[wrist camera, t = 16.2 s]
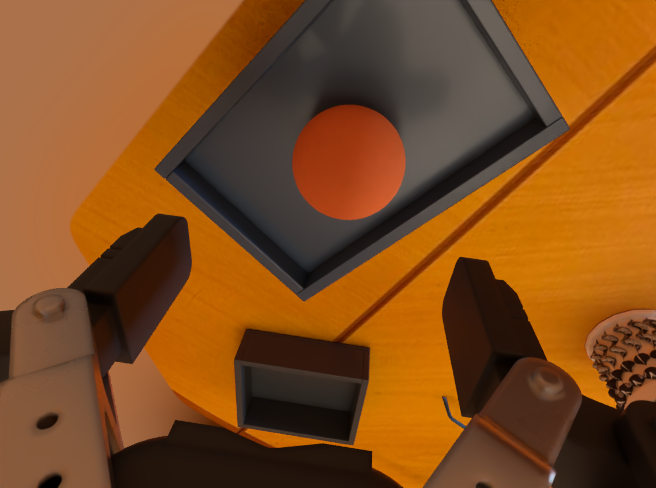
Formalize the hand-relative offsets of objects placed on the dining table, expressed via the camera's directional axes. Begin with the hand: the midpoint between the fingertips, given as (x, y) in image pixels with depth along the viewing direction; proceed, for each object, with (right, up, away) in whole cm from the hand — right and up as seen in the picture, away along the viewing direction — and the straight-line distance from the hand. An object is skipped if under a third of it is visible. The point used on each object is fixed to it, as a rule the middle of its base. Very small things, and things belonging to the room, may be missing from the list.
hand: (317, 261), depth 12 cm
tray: (+1, +6, +8) cm, 10 cm away
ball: (+1, +4, +6) cm, 7 cm away
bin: (-3, -15, +37) cm, 40 cm away
